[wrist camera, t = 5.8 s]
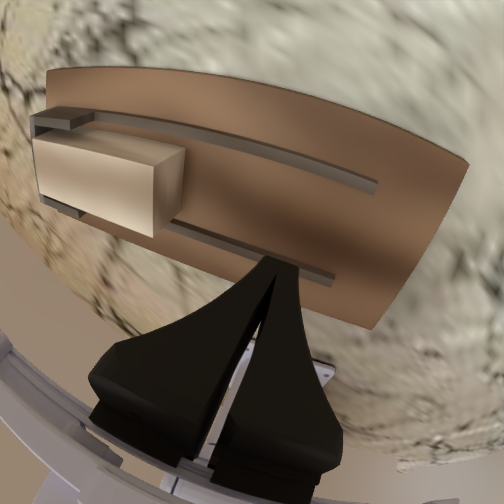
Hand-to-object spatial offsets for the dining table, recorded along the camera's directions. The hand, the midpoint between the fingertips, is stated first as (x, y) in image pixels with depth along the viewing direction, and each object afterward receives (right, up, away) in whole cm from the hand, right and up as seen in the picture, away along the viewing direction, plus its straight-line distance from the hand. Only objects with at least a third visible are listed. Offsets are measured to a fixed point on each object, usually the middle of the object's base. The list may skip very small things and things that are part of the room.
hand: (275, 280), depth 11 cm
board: (-4, +5, +5) cm, 8 cm away
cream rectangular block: (-9, +7, +5) cm, 13 cm away
